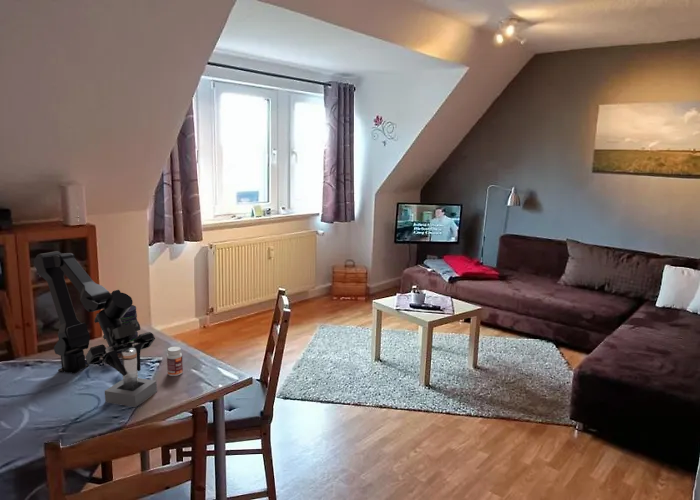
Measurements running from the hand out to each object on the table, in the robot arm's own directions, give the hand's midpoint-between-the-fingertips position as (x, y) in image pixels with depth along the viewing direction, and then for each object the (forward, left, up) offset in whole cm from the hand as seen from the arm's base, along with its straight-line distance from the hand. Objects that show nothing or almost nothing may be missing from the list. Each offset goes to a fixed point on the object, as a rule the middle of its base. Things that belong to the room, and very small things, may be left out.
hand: (132, 372), depth 153 cm
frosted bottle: (-1, +1, -7) cm, 7 cm away
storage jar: (-27, +32, -8) cm, 43 cm away
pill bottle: (+2, +19, -8) cm, 20 cm away
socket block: (-1, +1, -8) cm, 8 cm away
